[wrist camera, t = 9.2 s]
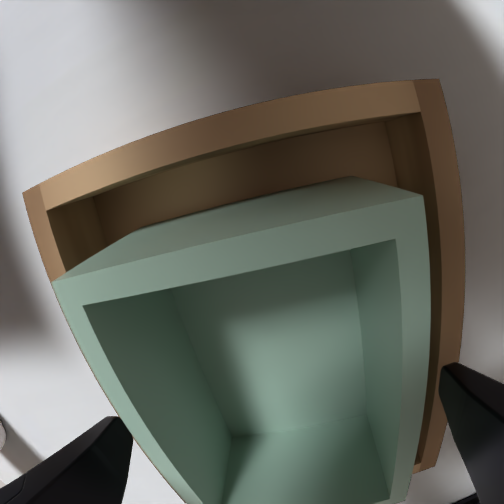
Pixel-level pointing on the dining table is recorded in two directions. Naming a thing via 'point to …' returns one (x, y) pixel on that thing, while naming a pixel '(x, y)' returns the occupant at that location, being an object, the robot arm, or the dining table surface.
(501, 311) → the dining table surface
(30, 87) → the dining table surface
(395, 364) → the small crate
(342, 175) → the big crate
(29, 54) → the dining table surface
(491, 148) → the dining table surface
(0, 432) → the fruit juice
